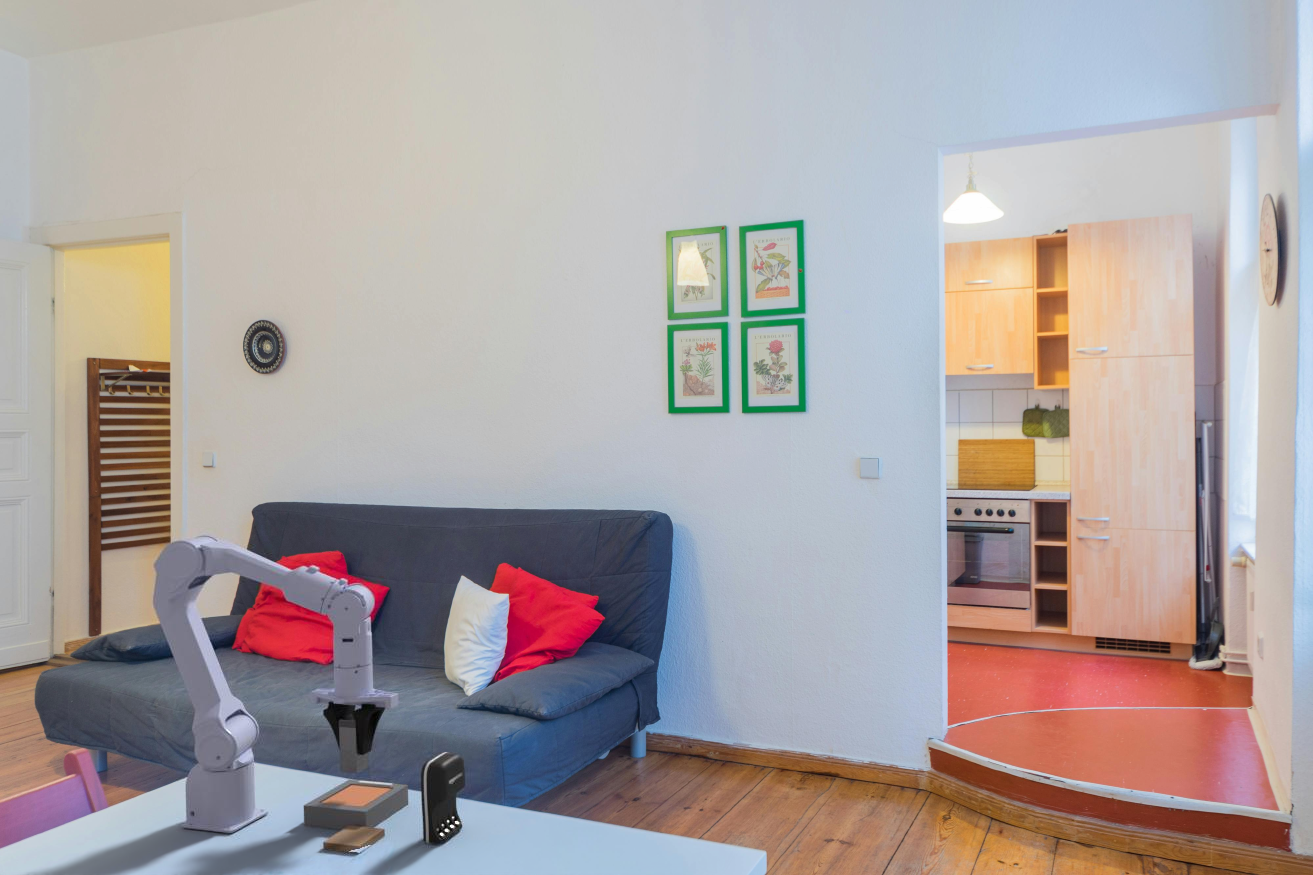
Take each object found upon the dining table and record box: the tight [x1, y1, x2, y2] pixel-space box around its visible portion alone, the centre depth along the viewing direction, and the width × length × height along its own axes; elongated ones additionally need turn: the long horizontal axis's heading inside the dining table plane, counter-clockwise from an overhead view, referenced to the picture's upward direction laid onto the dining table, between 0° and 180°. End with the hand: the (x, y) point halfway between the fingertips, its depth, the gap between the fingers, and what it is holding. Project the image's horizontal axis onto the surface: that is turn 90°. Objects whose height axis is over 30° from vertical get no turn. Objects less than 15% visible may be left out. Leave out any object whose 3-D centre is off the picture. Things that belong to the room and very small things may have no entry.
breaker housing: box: [303, 779, 409, 830], centre depth 142 cm, size 11×11×3 cm
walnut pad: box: [322, 825, 386, 853], centre depth 131 cm, size 6×6×1 cm
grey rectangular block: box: [338, 714, 370, 774], centre depth 142 cm, size 3×3×8 cm
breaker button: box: [321, 785, 391, 807], centre depth 142 cm, size 7×7×2 cm
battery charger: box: [420, 751, 466, 845], centre depth 132 cm, size 7×4×11 cm, turn 161°
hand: (355, 751), depth 142 cm, fingers closed on grey rectangular block, 3 cm apart
